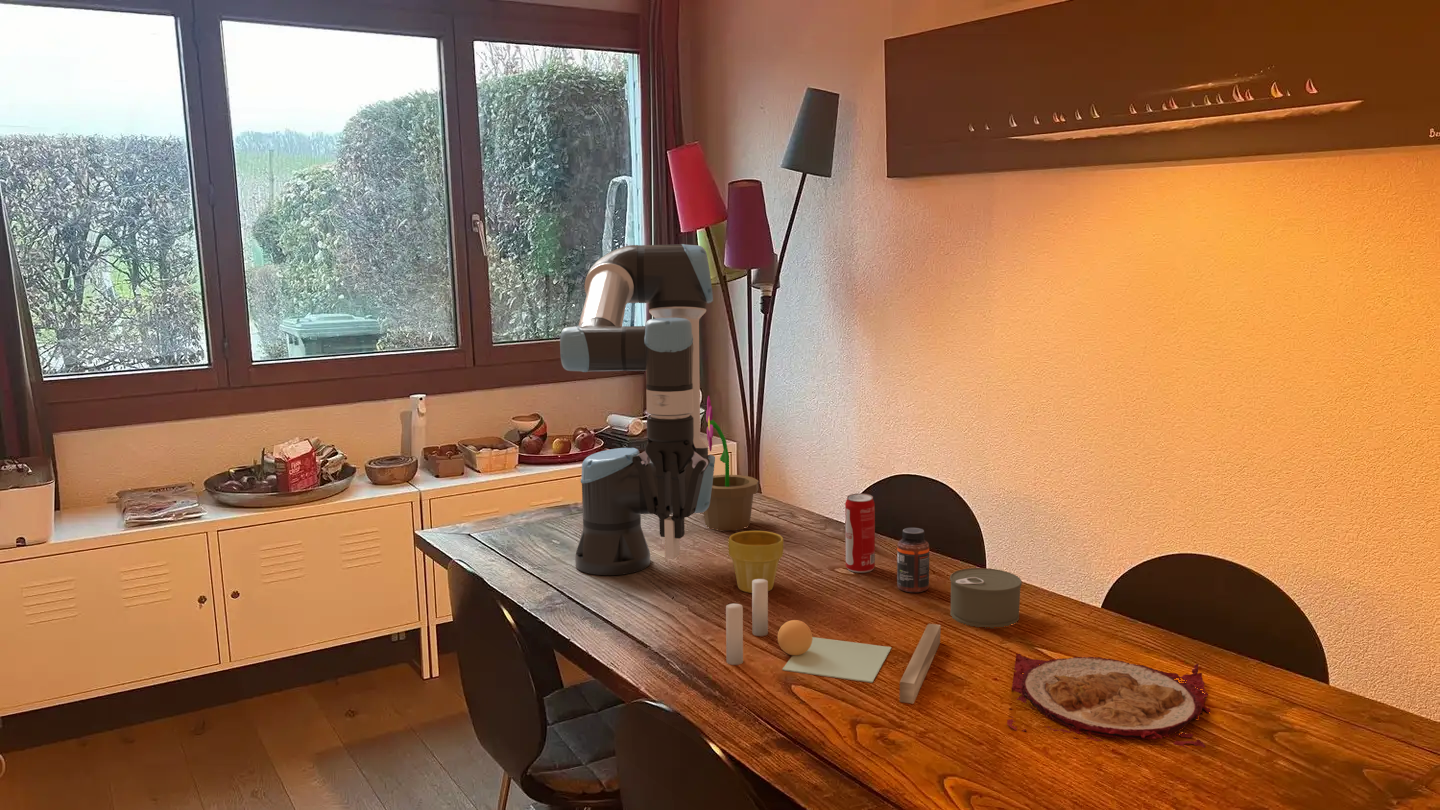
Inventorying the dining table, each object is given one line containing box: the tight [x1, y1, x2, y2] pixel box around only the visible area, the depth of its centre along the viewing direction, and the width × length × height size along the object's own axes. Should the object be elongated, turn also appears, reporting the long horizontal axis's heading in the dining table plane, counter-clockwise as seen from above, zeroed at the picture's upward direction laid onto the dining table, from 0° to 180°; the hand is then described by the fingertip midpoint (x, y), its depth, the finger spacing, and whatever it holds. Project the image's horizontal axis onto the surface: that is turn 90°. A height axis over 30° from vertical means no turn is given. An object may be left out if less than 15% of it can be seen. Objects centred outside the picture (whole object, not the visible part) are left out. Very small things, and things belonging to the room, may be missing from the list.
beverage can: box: [844, 492, 876, 574], centre depth 208 cm, size 6×6×15 cm
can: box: [949, 567, 1023, 629], centre depth 183 cm, size 12×12×7 cm
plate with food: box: [1006, 653, 1211, 749], centre depth 149 cm, size 25×26×4 cm
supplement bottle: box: [896, 527, 930, 594], centre depth 197 cm, size 6×6×11 cm
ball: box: [777, 619, 813, 656], centre depth 167 cm, size 6×6×6 cm
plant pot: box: [727, 530, 784, 594], centre depth 199 cm, size 10×10×10 cm
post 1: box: [725, 603, 744, 666], centre depth 164 cm, size 3×3×9 cm
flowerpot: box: [703, 395, 759, 531], centre depth 240 cm, size 14×14×30 cm
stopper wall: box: [899, 623, 941, 705], centre depth 161 cm, size 2×24×3 cm, turn 160°
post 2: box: [751, 579, 769, 637], centre depth 176 cm, size 3×3×9 cm
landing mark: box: [781, 636, 892, 684], centre depth 166 cm, size 14×14×1 cm
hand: (672, 556), depth 173 cm, fingers closed
